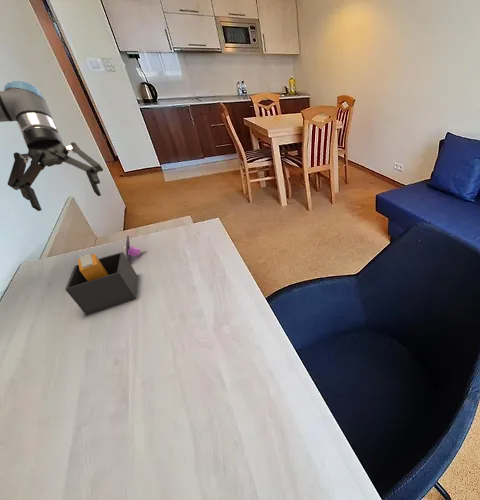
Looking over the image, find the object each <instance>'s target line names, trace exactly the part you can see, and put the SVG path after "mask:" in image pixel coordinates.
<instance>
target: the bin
mask: <svg viewBox="0 0 480 500" xmlns="http://www.w3.org/2000/svg"><path fill="white" fill-rule="evenodd" d="M98 259H99V261H100V262H101V264H102V265H103V267H104V268H105V269H106V271H107V272H108V274H109V275H108V276H104V277H101V278H98V279H95V280H92V281H87V280H86V278H85V277H84V276H83V274H82V273H81V272H80V269H79V264H76V265H74V266H73V269H72V272H71V274H70V276H69V279H68V281H67V284H66V287H65V291H66V293H67V294H68V295H69V297H70V298H71V299H72V300H73V301H74V302H75V303H76V305H77V306H78V307H79V308H80V310H81V311H82V312H83V313H84V314H85V316H89V315H91V314H94V313H97V312H100V311H103V310H107V309H109V308H112V307H115V306H118V305H121V304H123V303H124V304H125V303H127V302H129V301H133V300H135V299H137V289H138V274H137V272H136V270H135V269H134V268H133V266H132V265H131V263H130V261H128V260H127V258H126V255H125V252H123V251H121V252H117V253H114V254H111V255H106V256H104V257H100V258H98Z"/></svg>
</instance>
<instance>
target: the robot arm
mask: <svg viewBox="0 0 480 500" xmlns="http://www.w3.org/2000/svg"><path fill="white" fill-rule="evenodd" d="M4 122H5V123H6V122H17V125H18V128H19V130H20V133H21V135H22V137H23V140H24V143H25V145H26V148H27V149H28V151H27V153H20V152H17V151H16V152H14V153H13V159H14V160H13V165H12V167H11V171H10V173H9V177H8V180H7V186H8V187H10V188H11V189H13V190H15V191H19V190H20V192H21V196H22V197H23V198H24V199H25V200H26V201H29V202H30V205H31V208H33V209H34V210H36V211H37V212H41V211H43V210H42V207H41V204H40V202H39V200H38V197H37V195H36V194H37V193H36V192H35V190H34V188H33V187H32V185H33V183H34V182H35V180H36V179H37V177H38V176H39V174H40V173H41V171H43V170H44V169H45V168H46V167H48V168H49V167H53V166H56V165H58V166H59V165H63V163H66V164H67V165H71V166H73V167H75V168H77V169H80V170H82V171H84V172H85V173H86V176H87V179H88V181H89V183H90V186H91V188H92V190H93V192H94V194H96V196H97V197H100V196H102V194H101V192H100V189H99V186H98V185H99V184H101V180H100V178H99V176H98V174H99V172H103V171H104V169H103V167H102V165H101V164H100V163H99V162H98V161H96V160H94V158H92V157H91V156H89V155H88V154H87V153H85V152H84V151H83V150H82V149H81V148H80V147H79V146H78V145H77V143H76V142H74V141H73V142H70V145H66V146H65V145H64V143H63V140H62V138H61V135H60V134H59V131H58V128H57V126H56V123H55V121H54V118H53V117H52V113H51V111H50V109H49V105H48V103H47V102H46V99H45V98H44V96H43V93H42V92H41V90H40V89H39V88H38V87H36V85H33V84H32V83H29V82H25V81H22V80H12V82H7V83H6V84H5V85H4V87H3V90H0V123H4ZM70 152H71V153H72V154H77V156H78V157H80V158H81V159H83V161H85V162H86V163H88V164H89V165H88V164H86V163H84V162H82V161H80V160H78V159H76V158H73V157H71V156H69V155H68V154H69V153H70ZM30 159H31V160H30ZM29 160H30V163H29ZM28 163H29V166H28V167H27V164H28ZM26 168H27V169H26Z"/></svg>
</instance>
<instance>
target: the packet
mask: <svg viewBox="0 0 480 500" xmlns="http://www.w3.org/2000/svg"><path fill="white" fill-rule="evenodd" d="M99 259H100V258H98V257H97V255H96V254H95V253H93V254H91V253H88V254H85V255H82V256H79V259H77V263H78V264H77V265H79V269H80V272H81V273H82V274H83V276H84V277H85V278H86V280H87V281H92V280H95V279H98V278H101V277H104V276H108V275H109V274H108V272H107V271H106V269H105V268H104V267H103V265H102V264H101V262H100V261H99Z"/></svg>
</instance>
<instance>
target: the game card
mask: <svg viewBox="0 0 480 500" xmlns="http://www.w3.org/2000/svg"><path fill="white" fill-rule="evenodd" d="M123 251H126V252H124V255H125V256H126V258H127V260H128V261H129V262H130V259H131V256H132V257H138V256H139V255H140V254H143V253H144V251H141V249H140V248H139V247H136V246H133V245H132V246H131V245H130V236H129V235H127V236H126V242H125V246H123Z"/></svg>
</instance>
